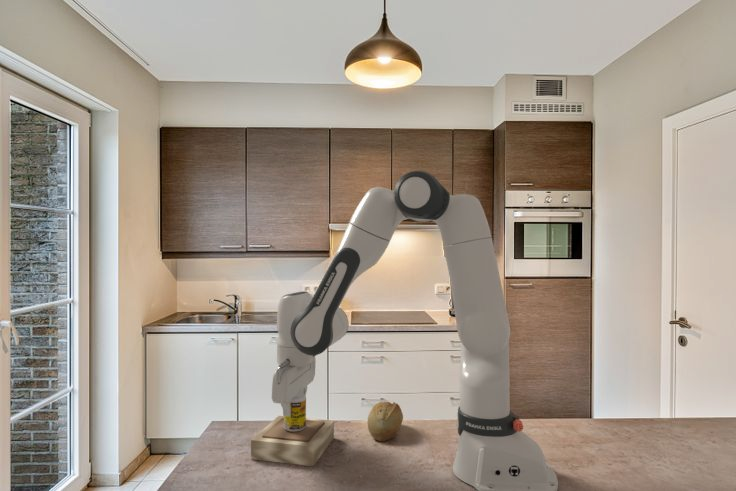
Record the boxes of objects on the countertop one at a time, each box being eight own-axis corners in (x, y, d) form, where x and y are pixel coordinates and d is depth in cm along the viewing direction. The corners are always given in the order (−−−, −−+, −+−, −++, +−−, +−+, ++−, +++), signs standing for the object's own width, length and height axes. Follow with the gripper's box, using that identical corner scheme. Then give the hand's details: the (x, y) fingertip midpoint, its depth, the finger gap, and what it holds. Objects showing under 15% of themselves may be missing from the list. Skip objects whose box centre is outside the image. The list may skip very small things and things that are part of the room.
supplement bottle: (289, 434, 111) (289, 393, 111) (280, 426, 115) (280, 387, 115) (309, 429, 114) (309, 389, 114) (300, 422, 119) (300, 383, 119)
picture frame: (333, 437, 121) (333, 419, 121) (313, 466, 105) (313, 444, 105) (278, 432, 124) (278, 414, 124) (250, 459, 109) (250, 438, 109)
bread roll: (404, 422, 131) (404, 395, 131) (400, 445, 116) (400, 414, 116) (372, 420, 133) (372, 393, 133) (364, 442, 118) (364, 412, 118)
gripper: (289, 366, 104) (290, 426, 104) (319, 347, 124) (319, 397, 124) (264, 364, 105) (264, 423, 105) (298, 346, 125) (298, 395, 125)
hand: (294, 409), depth 115 cm, fingers open, 8 cm apart
